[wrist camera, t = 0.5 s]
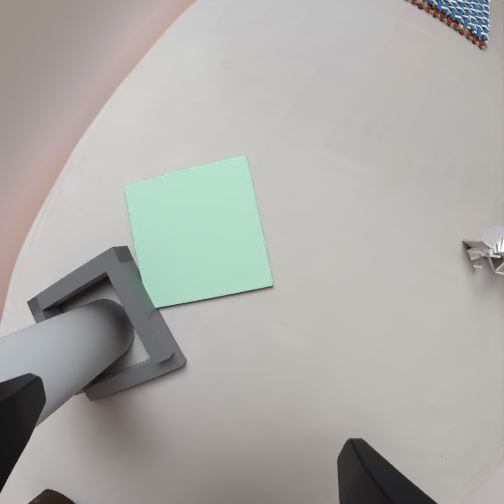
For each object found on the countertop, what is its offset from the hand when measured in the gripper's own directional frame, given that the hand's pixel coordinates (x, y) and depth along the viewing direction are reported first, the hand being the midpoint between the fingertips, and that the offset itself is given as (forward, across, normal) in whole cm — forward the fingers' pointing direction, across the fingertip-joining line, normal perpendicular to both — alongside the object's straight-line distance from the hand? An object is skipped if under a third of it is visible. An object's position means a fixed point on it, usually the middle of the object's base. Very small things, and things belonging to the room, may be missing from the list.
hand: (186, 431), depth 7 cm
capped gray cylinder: (+14, +8, +6) cm, 18 cm away
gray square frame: (+14, +8, +6) cm, 18 cm away
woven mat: (+20, -17, -31) cm, 41 cm away
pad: (+16, +3, -2) cm, 16 cm away
